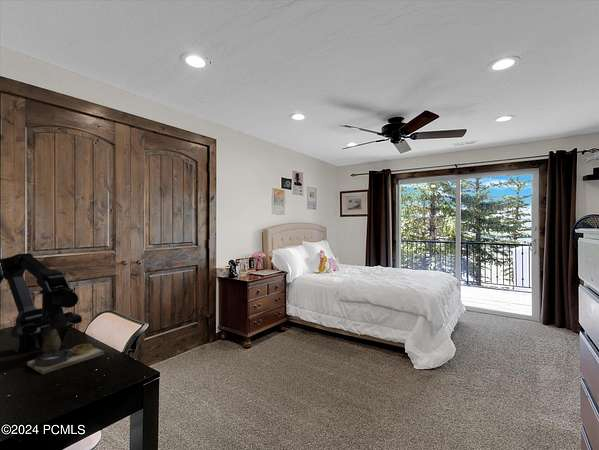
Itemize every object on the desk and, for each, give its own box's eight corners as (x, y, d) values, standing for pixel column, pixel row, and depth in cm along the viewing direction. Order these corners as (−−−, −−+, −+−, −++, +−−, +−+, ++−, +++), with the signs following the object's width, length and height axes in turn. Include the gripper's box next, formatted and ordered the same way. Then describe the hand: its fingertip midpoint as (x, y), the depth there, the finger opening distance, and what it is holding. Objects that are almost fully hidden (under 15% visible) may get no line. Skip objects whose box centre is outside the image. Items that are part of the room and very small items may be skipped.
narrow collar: (69, 354, 115) (69, 347, 115) (87, 348, 120) (87, 342, 120) (77, 357, 112) (77, 350, 112) (94, 352, 117) (95, 345, 117)
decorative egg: (39, 358, 112) (40, 331, 112) (41, 353, 117) (42, 327, 117) (60, 354, 116) (60, 328, 116) (61, 349, 120) (61, 324, 121)
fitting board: (27, 365, 107) (27, 361, 107) (87, 347, 123) (87, 344, 123) (42, 374, 100) (42, 370, 100) (103, 354, 116) (103, 351, 116)
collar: (31, 363, 106) (31, 356, 106) (63, 354, 115) (63, 347, 115) (42, 370, 101) (43, 363, 101) (75, 360, 110) (75, 353, 110)
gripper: (29, 314, 104) (28, 359, 104) (89, 303, 120) (88, 342, 120) (16, 309, 110) (15, 352, 110) (75, 299, 126) (74, 337, 126)
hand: (50, 346), depth 116 cm, fingers closed on decorative egg, 6 cm apart
